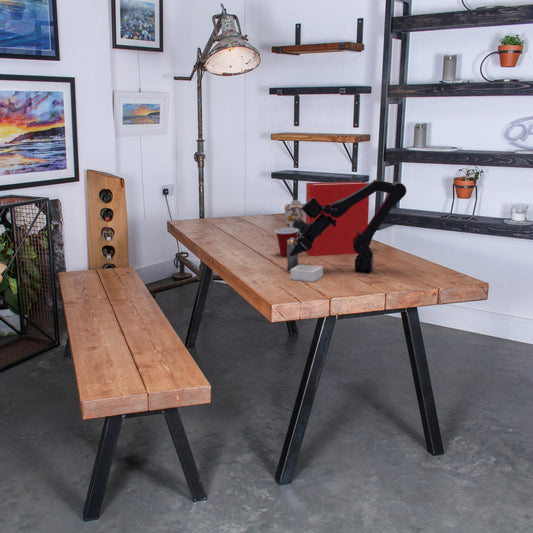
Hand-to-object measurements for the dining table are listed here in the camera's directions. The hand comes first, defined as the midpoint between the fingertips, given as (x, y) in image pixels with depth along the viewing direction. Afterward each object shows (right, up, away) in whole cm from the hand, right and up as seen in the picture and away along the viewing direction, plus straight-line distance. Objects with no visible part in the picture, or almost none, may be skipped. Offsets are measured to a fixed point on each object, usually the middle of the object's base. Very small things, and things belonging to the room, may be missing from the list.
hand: (290, 252), depth 250 cm
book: (+22, +1, +33) cm, 40 cm away
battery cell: (+1, -7, +2) cm, 7 cm away
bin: (+6, -10, -10) cm, 16 cm away
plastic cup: (-1, -1, +27) cm, 27 cm away
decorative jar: (+6, +11, +75) cm, 76 cm away
